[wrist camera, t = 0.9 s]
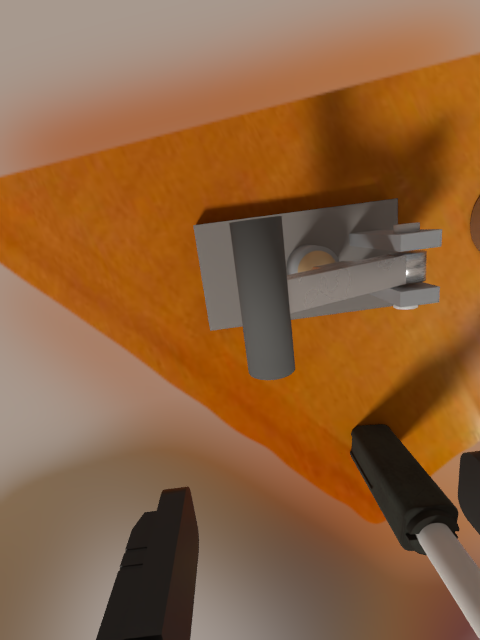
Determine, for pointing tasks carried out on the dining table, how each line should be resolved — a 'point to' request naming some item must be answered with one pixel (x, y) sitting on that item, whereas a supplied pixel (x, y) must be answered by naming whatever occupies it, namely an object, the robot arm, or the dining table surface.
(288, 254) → the base
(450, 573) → the black and grey rod
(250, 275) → the lever
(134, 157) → the dining table surface
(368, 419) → the dining table surface
